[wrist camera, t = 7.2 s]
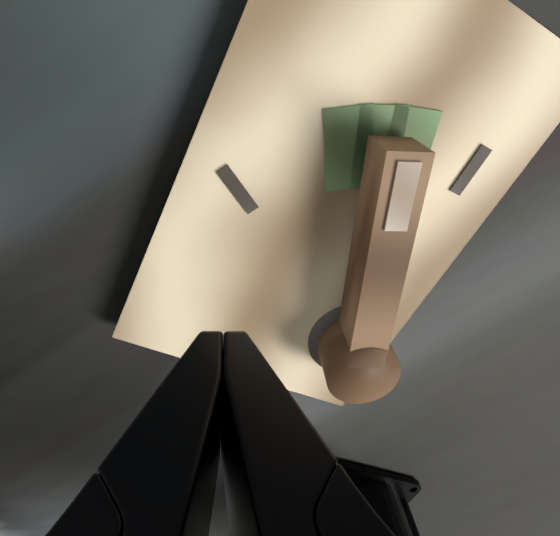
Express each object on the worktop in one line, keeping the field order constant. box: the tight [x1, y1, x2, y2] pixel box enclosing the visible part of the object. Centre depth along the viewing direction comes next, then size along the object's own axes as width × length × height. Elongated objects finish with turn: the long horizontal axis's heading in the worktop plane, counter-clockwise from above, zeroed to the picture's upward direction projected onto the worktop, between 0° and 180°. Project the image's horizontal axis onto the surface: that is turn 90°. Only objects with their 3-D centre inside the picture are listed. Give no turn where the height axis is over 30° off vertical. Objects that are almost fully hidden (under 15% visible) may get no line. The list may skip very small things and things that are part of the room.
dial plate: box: [112, 0, 560, 406], centre depth 18 cm, size 12×18×1 cm, turn 153°
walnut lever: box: [318, 135, 435, 404], centre depth 17 cm, size 11×3×2 cm, turn 176°
